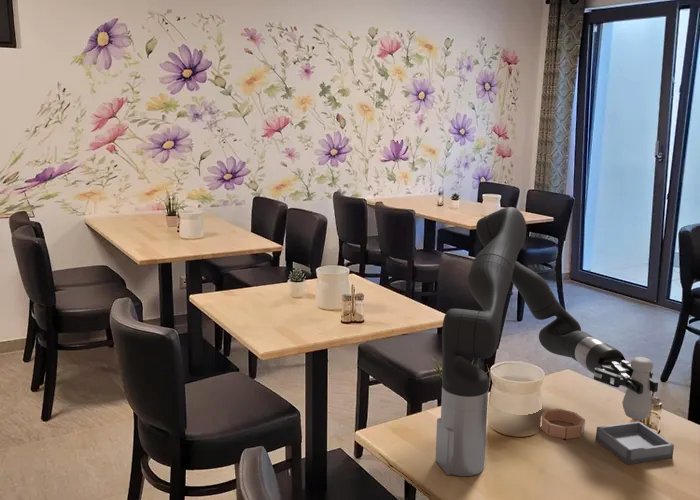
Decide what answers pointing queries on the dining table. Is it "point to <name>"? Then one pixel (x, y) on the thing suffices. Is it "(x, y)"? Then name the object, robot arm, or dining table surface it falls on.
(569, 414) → the collar
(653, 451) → the tray
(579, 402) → the dining table surface
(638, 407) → the salt shaker
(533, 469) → the dining table surface
